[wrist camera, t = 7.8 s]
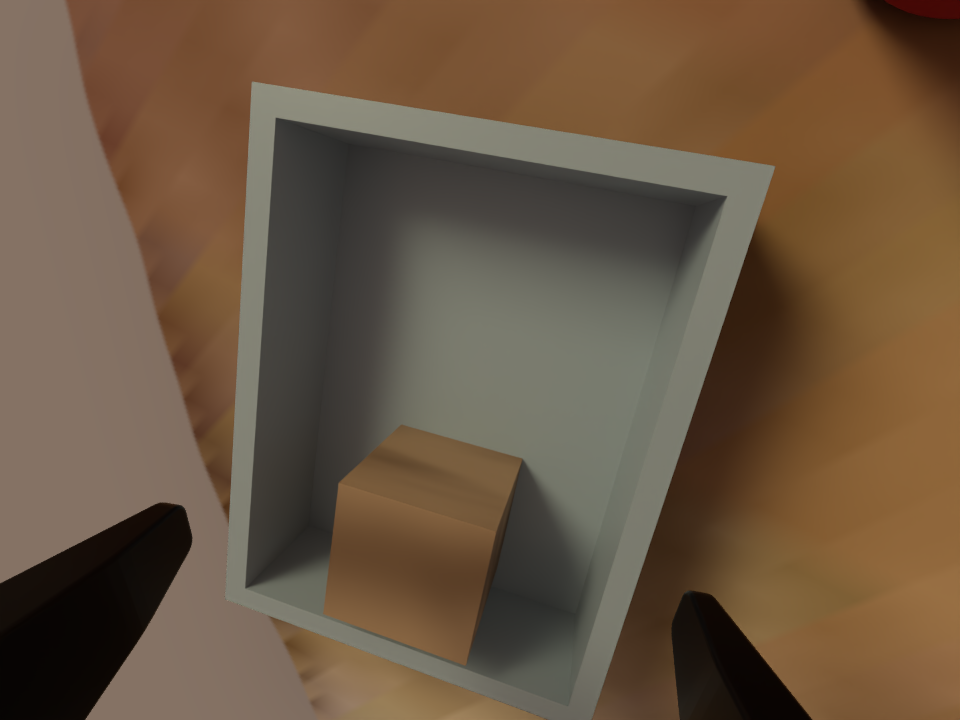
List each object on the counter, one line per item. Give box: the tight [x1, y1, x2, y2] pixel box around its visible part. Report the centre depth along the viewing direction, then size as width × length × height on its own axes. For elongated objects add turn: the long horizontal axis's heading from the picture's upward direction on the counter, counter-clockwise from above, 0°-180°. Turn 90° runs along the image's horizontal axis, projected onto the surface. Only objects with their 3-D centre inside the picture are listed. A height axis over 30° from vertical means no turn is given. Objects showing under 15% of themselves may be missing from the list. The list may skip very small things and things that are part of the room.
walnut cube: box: [323, 425, 523, 666], centre depth 18 cm, size 5×5×5 cm
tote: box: [225, 82, 775, 720], centre depth 17 cm, size 18×14×5 cm
